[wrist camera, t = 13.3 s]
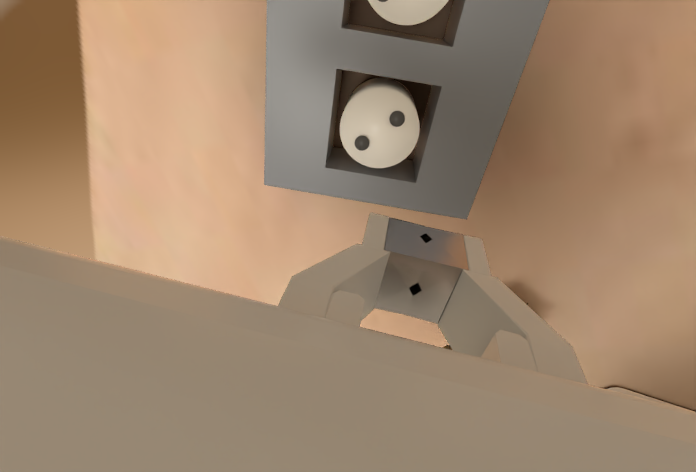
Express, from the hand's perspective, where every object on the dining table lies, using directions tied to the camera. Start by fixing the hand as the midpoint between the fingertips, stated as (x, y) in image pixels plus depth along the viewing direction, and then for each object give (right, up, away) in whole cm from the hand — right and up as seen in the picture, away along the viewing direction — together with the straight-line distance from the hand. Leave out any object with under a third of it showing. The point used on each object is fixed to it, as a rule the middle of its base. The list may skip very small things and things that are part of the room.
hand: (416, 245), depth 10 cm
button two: (0, +9, +15) cm, 17 cm away
